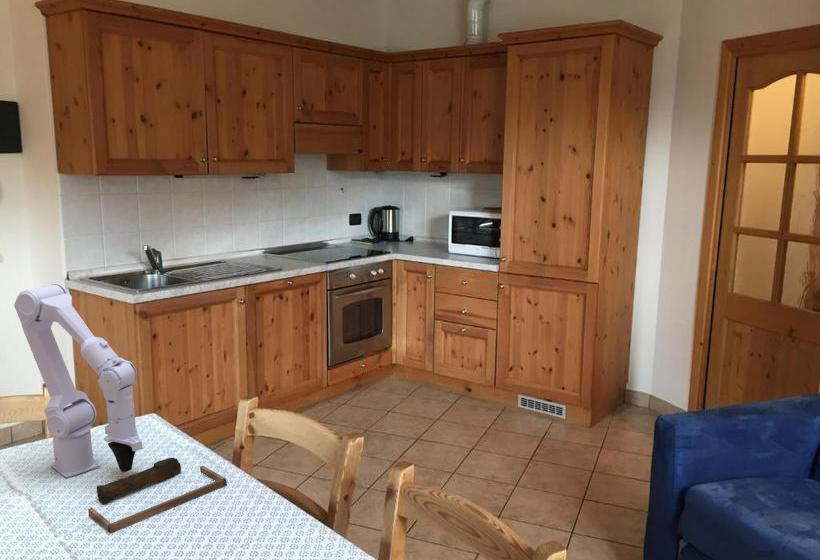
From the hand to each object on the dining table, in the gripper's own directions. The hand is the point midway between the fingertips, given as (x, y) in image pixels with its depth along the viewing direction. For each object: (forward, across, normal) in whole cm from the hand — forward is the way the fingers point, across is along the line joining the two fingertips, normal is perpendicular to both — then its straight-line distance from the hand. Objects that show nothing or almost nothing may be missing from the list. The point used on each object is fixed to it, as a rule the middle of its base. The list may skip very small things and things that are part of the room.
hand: (126, 470), depth 158 cm
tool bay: (+1, +16, 0) cm, 16 cm away
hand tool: (+2, +7, 0) cm, 7 cm away
